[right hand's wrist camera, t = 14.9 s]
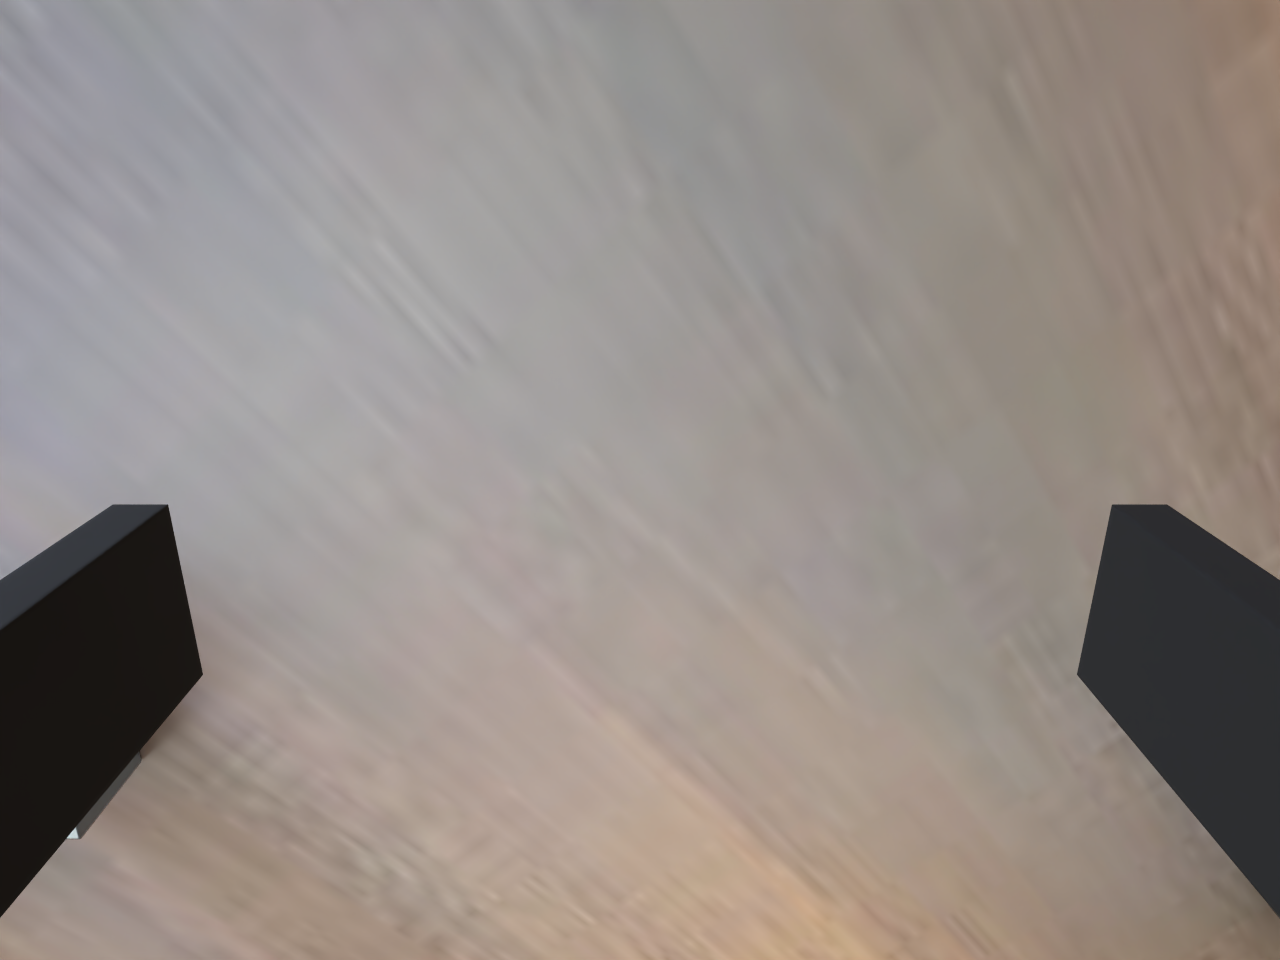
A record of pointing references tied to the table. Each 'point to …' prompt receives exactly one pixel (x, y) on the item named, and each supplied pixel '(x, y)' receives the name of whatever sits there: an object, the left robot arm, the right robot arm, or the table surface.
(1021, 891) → the table surface
